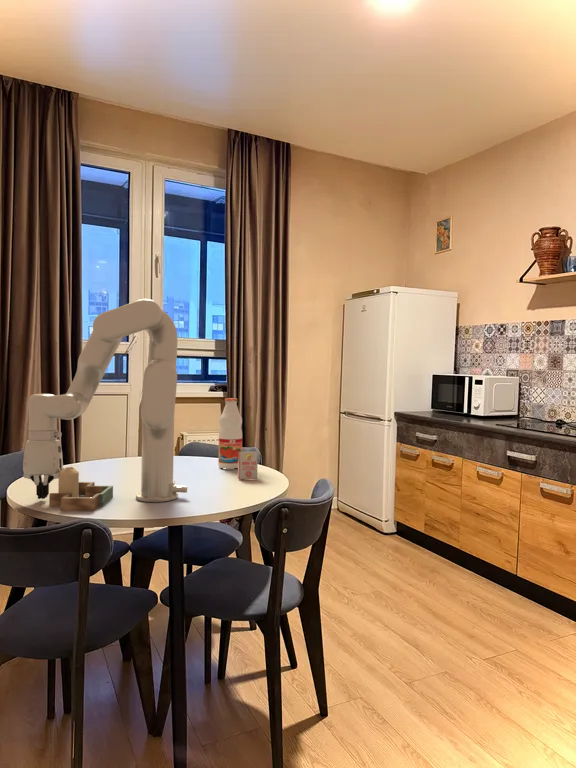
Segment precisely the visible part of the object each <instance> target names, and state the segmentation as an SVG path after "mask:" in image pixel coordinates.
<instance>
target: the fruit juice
mask: <svg viewBox="0 0 576 768" xmlns="http://www.w3.org/2000/svg"><path fill="white" fill-rule="evenodd" d="M224 403H225V406H224V407H223V411H222V413H221V415H220V417H219V424H220V426H219V427H220V428H219V429H220V430H219V432H218V464H217V465H218V468H219V467H220V468H219V469H221V468H226V469H225V470H234V469H233V468H238V454H239V452H243V430H242V424H243V418H242V416H241V414H240V411H239V407H238V404H237V403H238V398H235V397H234V398H233V397H232V398H231V397H227V398H224Z"/></svg>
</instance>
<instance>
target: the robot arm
mask: <svg viewBox="0 0 576 768" xmlns="http://www.w3.org/2000/svg"><path fill="white" fill-rule="evenodd" d="M175 324H176V323H174V321H173V319H172V318H171V317H170V315H169V314H168V313H167V312H165V311H164V310H163V309H162V308H161V307H160V305H159V304H158V303H157V302H156V301H154V300H152V299H148V298H143V299H138V300H136V301H133V302H130V303H127V304H124V305H122V306H118V307H116V308H112V309H110V310H107V311H104V312H101V313H99V314H98V315H97V316H96V317H95V318H94V320H93V323H92V332H90V333H91V334H90V336H89V338H88V339H87V341H86V343H85V345H84V347H83V349H82V351H81V352H80V354H79V356H78V358H77V368H76V372H75V375H74V377H73V380H72V381H71V384H70V386H69V387H68V390H67V392H66V393H63V394H58V395H57V394H56V395H55V394H52V393H34V394H31V395H30V396H29V399H28V439H27V440H26V442H25V447H24V452H23V462H22V463H23V464H22V471H23V475H22V477H23V478H24V479H28V480H31V481H32V483H34V485H35V487H36V490H35V491H36V494H35V495H36V496H37V500H40V499H41V500H45V498H48V496H49V494H50V484H51V482H52V481H54V480H56V479H59V472H60V471H61V470H62V469H63V468H64V462H63V461H64V460H63V458H64V457H63V450H62V444H61V440H60V439H58V438H61V437H62V435H63V434H62V432H60V431H59V430H58V419H59V420H60V419H61V420H68V421H69V420H74V419H76V418H78V417H80V416H82V415H83V414H84V413H85V412H86V410H87V409H88V407H89V405H90V403H91V401H92V399H93V398H94V396H95V394H96V391H97V390H98V388H99V385H100V383H101V381H102V379H103V377H104V376H105V374H106V371H107V370H108V367H109V366H110V363H111V361H112V359H113V357H114V355H115V353H116V351H117V349H118V348H119V346H120V344H121V343H122V340H123V338H124V337H128V336H130V335H133V334H136V333H140V332H142V331H144V330H145V331H146V332H147V334H148V338H149V341H148V342H149V344H148V358H147V366H146V367H145V368H144V373H143V380H142V392H141V404H140V416H141V417H140V418H141V421H142V424H141V426H142V427H141V468H140V469H141V471H140V472H141V474H140V475H141V479H140V481H141V483H140V484H141V485H140V490H141V491H139V492H137V493H136V495H135V499H136V500H137V501H140V502H146V503H163V502H169V501H173V500H174V501H175V499H177V498H178V497H179V493H181V494H182V493H184V494H185V493H186V494H187V493H188V486H187V485H178V484H176V481H175V480H174V448H175V447H174V446H175V445H174V444H175V443H174V441H175V411H176V409H175V408H176V398H177V384H178V371H177V360H178V359H177V358H178V357H177V356H178V332H177V327H176V325H175Z"/></svg>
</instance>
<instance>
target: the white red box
mask: <svg viewBox="0 0 576 768" xmlns="http://www.w3.org/2000/svg"><path fill="white" fill-rule="evenodd" d="M258 466H259V465H258V451H242V452H239V454H238V469H237V480H238V479H257V480H258Z"/></svg>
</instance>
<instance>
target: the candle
mask: <svg viewBox="0 0 576 768" xmlns="http://www.w3.org/2000/svg"><path fill="white" fill-rule="evenodd" d="M79 477H80V473H79V471H78V470H77V469H76V468H74V467H73V466H70V467H65V468H64V467H63V469H62V470H61V471H60V472H59V478H58V487H57V488H58V489H57V490H58V491H57V493H72V497H78V496H79V482H80V478H79Z"/></svg>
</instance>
